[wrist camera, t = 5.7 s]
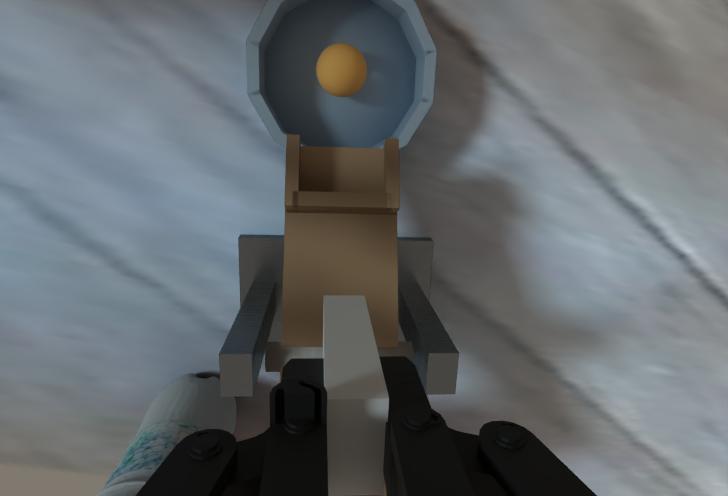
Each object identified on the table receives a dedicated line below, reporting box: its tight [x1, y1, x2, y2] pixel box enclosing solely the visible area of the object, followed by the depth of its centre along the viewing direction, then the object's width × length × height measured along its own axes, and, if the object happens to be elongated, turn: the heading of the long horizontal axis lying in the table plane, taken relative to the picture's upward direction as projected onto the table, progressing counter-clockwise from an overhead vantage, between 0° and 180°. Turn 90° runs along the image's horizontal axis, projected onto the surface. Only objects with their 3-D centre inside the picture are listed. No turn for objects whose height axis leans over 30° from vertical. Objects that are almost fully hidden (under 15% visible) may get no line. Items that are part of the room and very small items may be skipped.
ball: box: [316, 43, 367, 97], centre depth 30 cm, size 3×3×3 cm
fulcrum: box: [219, 235, 459, 397], centre depth 30 cm, size 9×14×12 cm, turn 88°
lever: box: [265, 134, 414, 496], centre depth 28 cm, size 22×8×8 cm, turn 179°
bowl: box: [246, 0, 437, 149], centre depth 30 cm, size 11×11×4 cm
